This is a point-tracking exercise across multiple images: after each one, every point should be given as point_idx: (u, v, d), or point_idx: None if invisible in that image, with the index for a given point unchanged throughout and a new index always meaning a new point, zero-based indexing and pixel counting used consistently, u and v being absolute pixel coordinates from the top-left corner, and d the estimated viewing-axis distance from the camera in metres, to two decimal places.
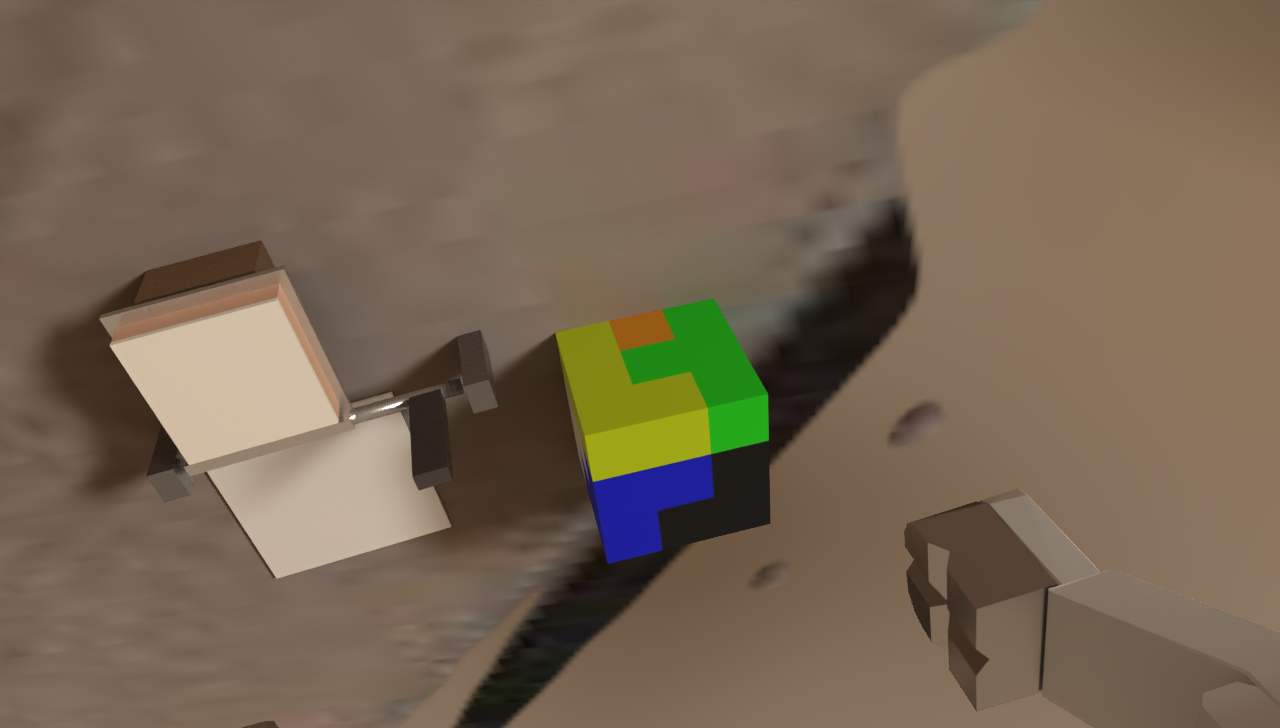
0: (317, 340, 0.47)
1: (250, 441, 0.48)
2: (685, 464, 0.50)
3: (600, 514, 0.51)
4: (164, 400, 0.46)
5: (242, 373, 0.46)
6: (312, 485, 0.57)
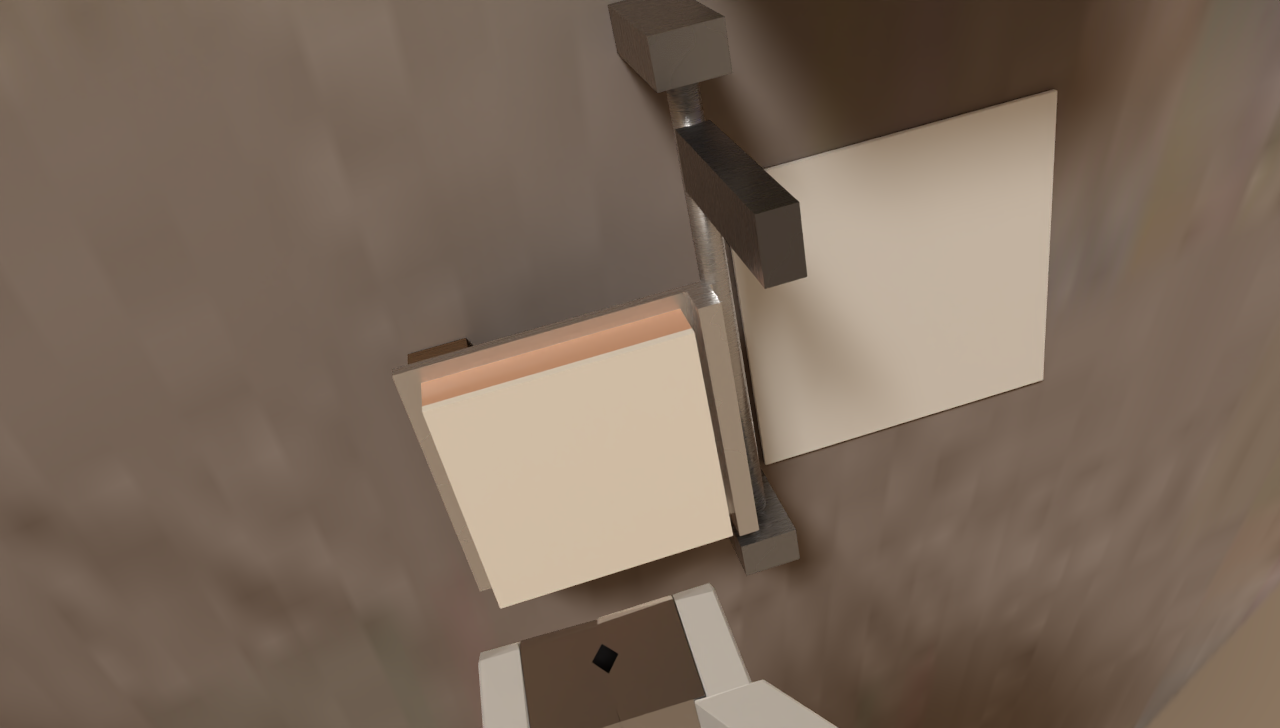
0: (537, 335, 0.27)
1: (705, 459, 0.29)
2: None
3: None
4: (604, 557, 0.30)
5: (568, 464, 0.28)
6: (879, 317, 0.34)
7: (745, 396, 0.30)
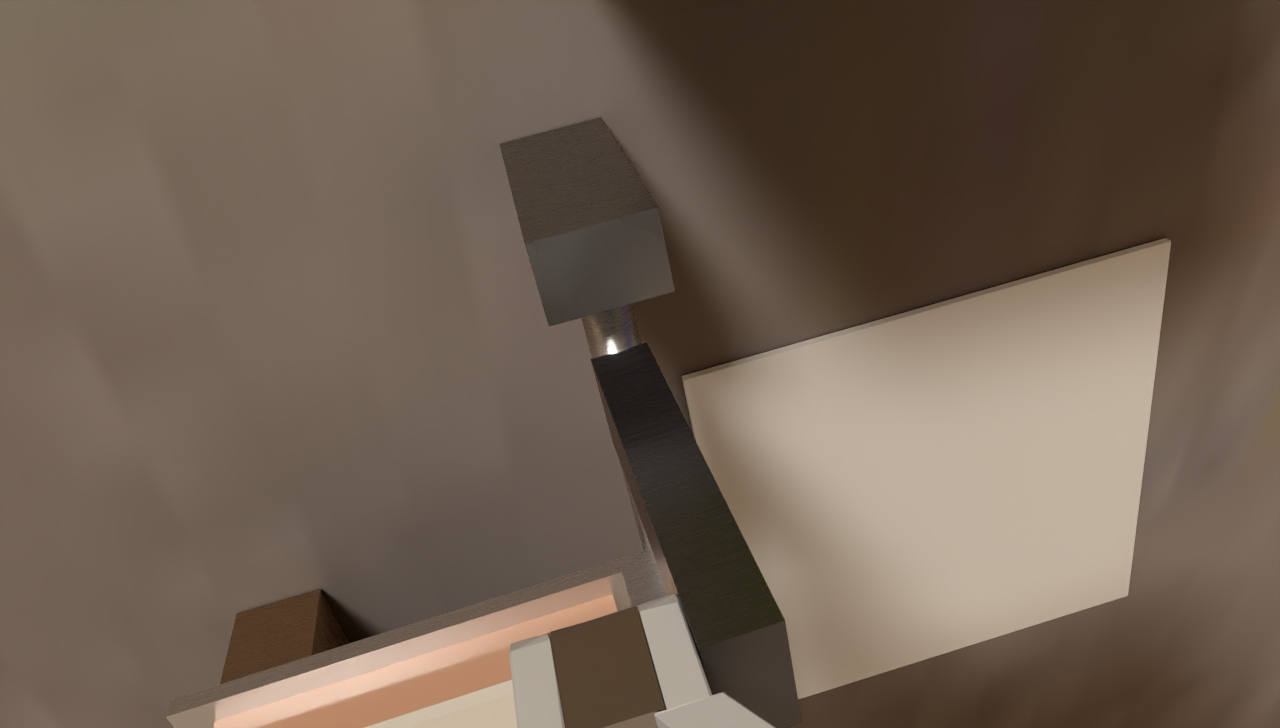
0: (393, 646, 0.18)
1: None
2: None
3: None
4: None
5: None
6: (909, 535, 0.25)
7: None
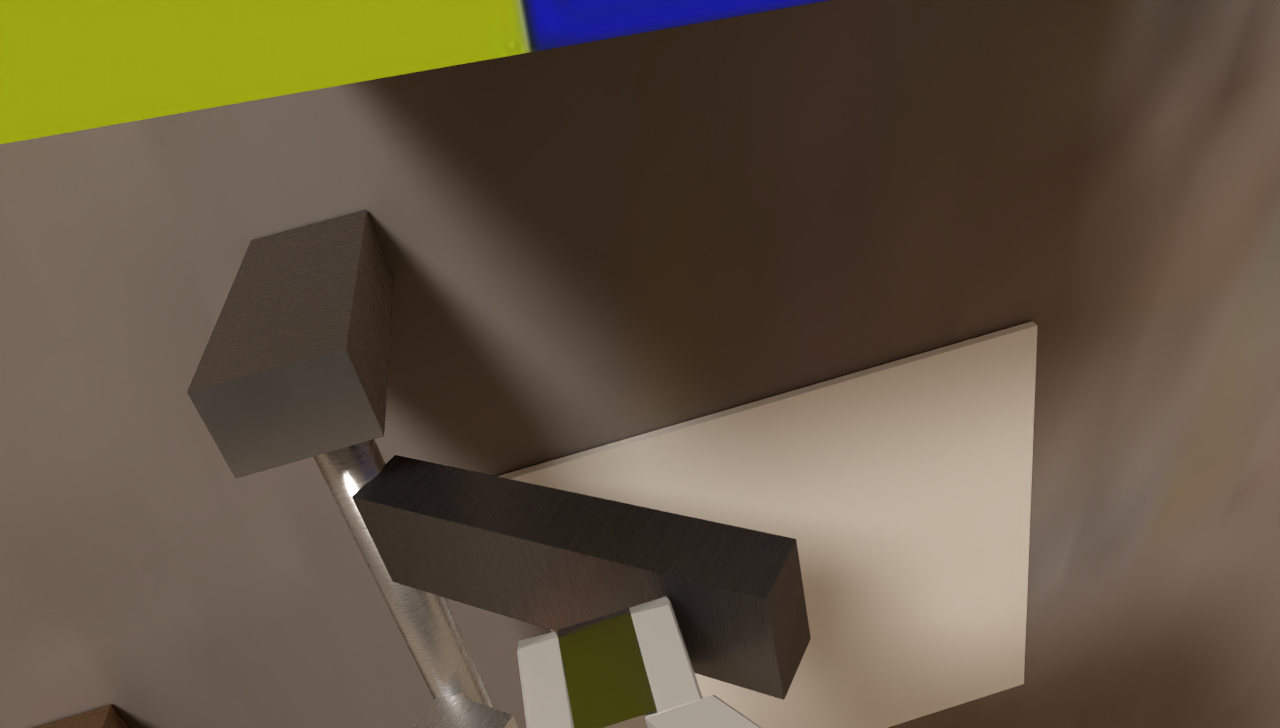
0: None
1: None
2: None
3: None
4: None
5: None
6: None
7: None
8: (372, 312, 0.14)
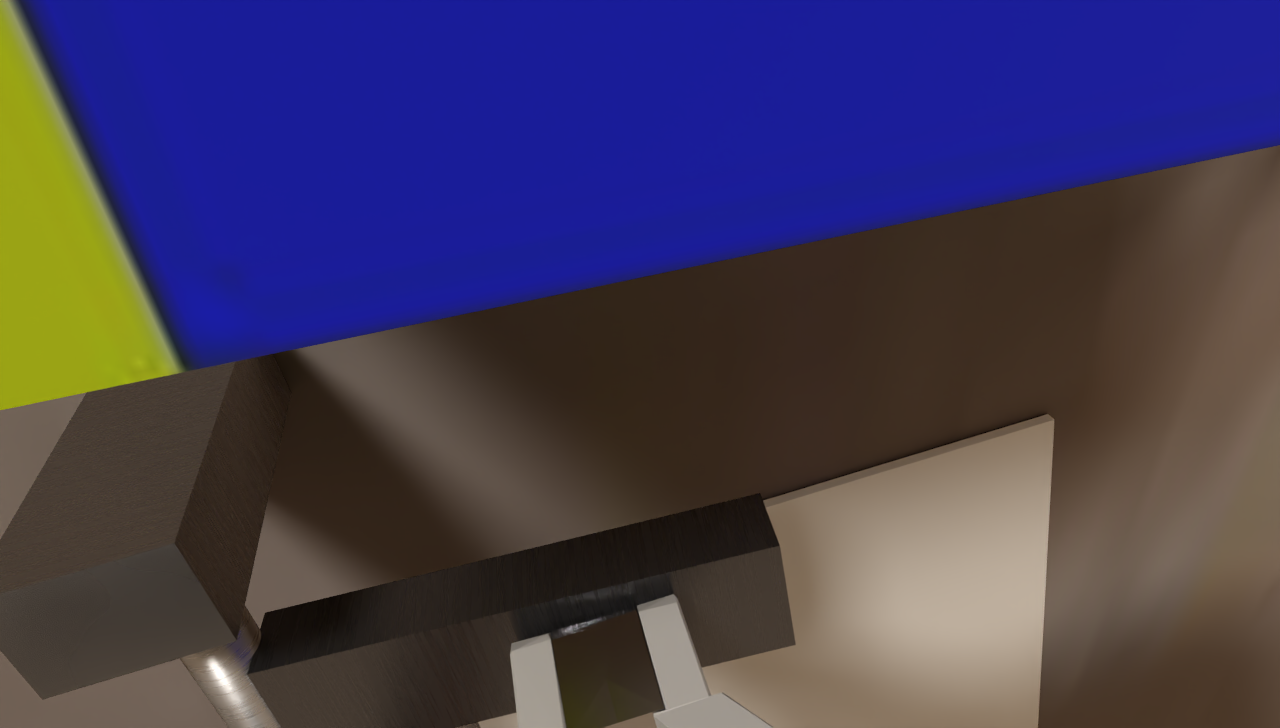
0: None
1: None
2: None
3: (966, 183, 0.03)
4: None
5: None
6: None
7: None
8: (241, 458, 0.11)
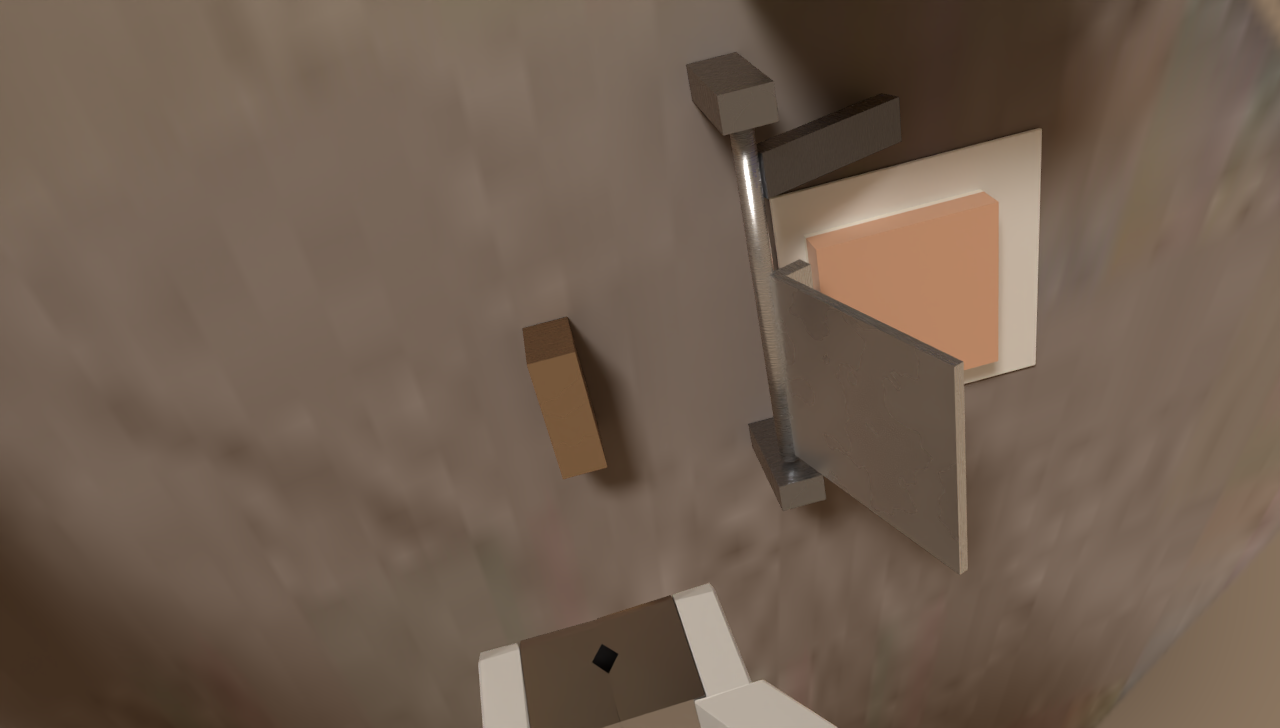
0: (867, 316, 0.32)
1: None
2: None
3: None
4: None
5: None
6: None
7: None
8: None
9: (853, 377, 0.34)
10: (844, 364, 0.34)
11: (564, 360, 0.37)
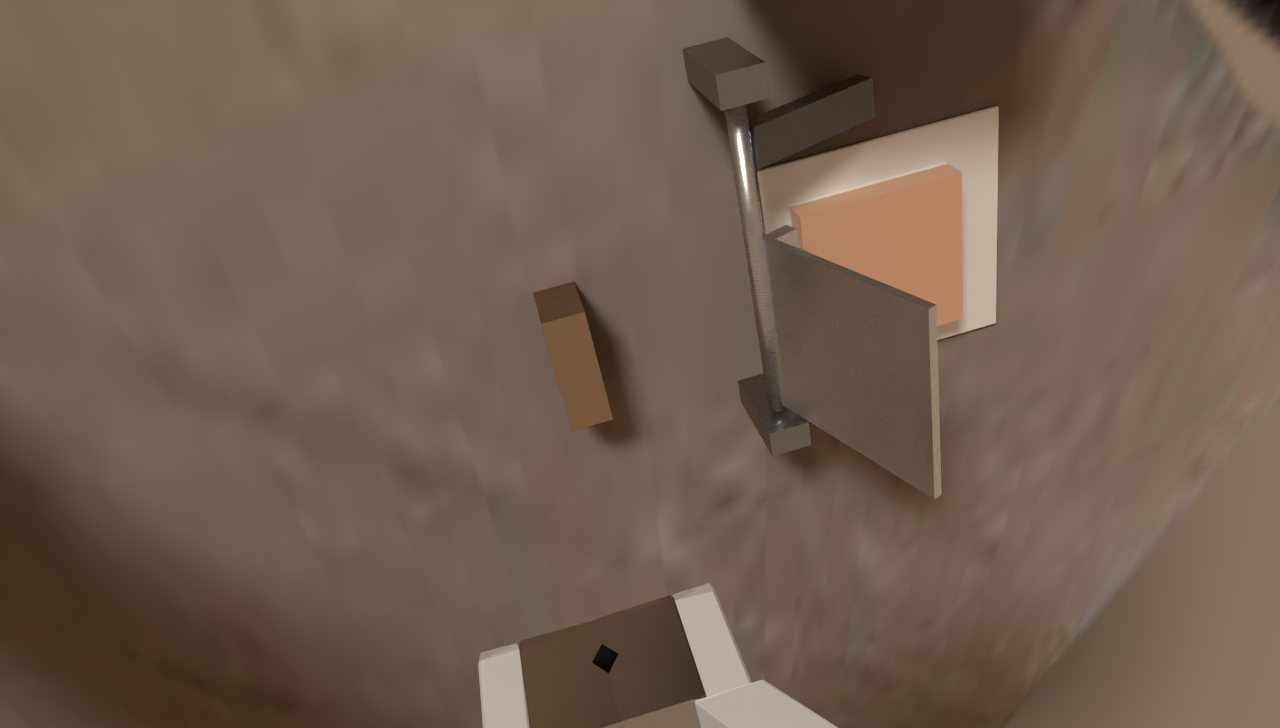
0: (850, 270, 0.36)
1: None
2: None
3: None
4: None
5: None
6: None
7: None
8: None
9: (837, 326, 0.38)
10: (829, 315, 0.38)
11: (574, 319, 0.41)
